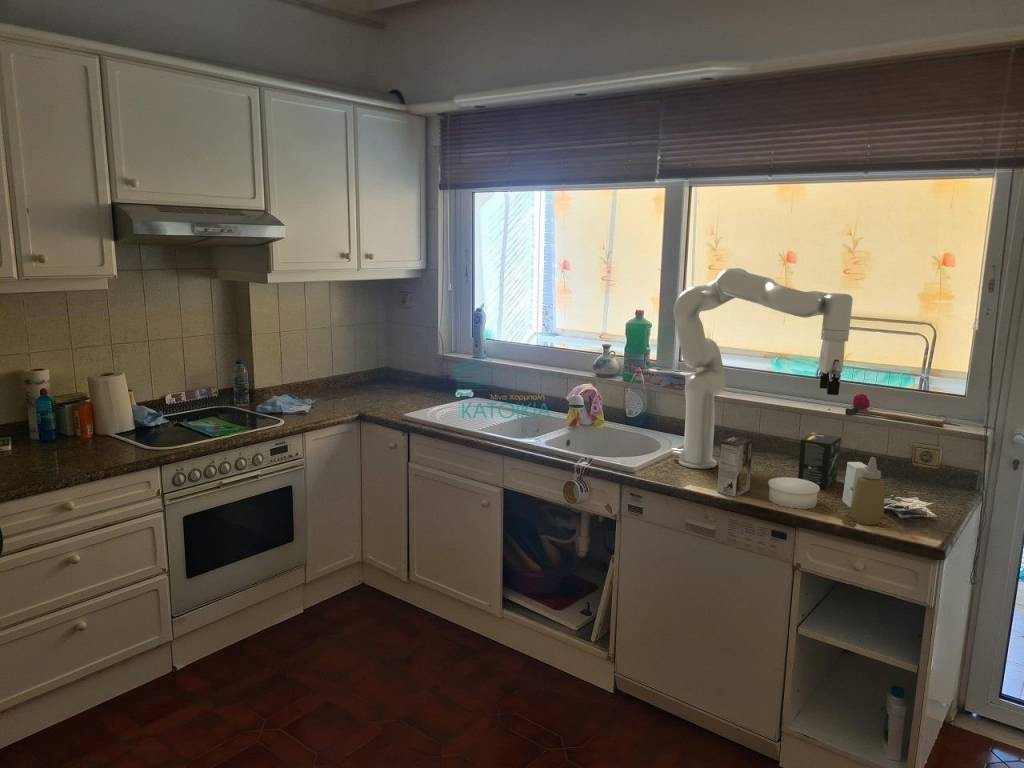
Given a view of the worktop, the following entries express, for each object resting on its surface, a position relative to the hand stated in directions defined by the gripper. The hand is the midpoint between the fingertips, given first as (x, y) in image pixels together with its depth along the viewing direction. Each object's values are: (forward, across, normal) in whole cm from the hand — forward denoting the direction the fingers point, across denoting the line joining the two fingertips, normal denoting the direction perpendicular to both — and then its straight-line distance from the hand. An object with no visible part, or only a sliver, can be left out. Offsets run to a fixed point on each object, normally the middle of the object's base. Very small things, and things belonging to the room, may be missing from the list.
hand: (828, 391), depth 225 cm
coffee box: (+31, +11, -27) cm, 42 cm away
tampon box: (+30, -5, 0) cm, 31 cm away
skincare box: (+30, +15, +6) cm, 34 cm away
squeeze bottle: (+30, +29, +6) cm, 42 cm away
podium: (+30, +16, -10) cm, 36 cm away
